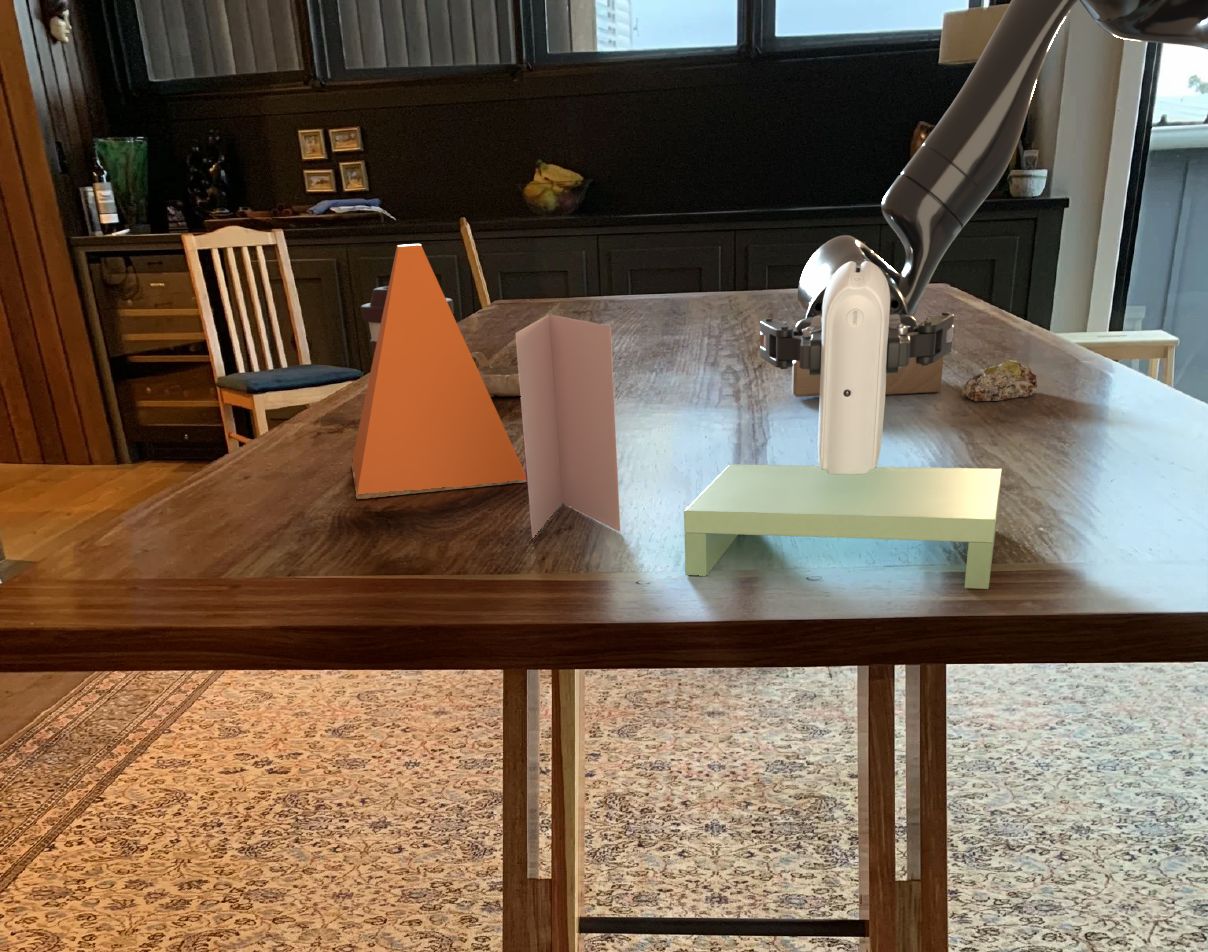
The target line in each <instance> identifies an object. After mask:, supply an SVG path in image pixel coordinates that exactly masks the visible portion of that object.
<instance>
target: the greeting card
mask: <svg viewBox="0 0 1208 952" xmlns="http://www.w3.org/2000/svg"><path fill="white" fill-rule="evenodd" d="M514 335H515V345H516V346H515V347H516V358H517V366H518V371H519V383H520V395H521V397H520V405H521V406H520V407H521V417H522V418H521V419H522V429H523V442H524V463H525V464H524V466H525V474H526V479H527V483H526V486H527V487H526V488H527V494H528V501H529V502H528V503H529V515H530V527H531V528H530V529H531V538H534V537H535V535H537V536H538V534H539V533H538V531H540V529H541V528H542V527H543V526H544V524H545V523H546V522H547V520H549V521H550V519H551V518H552V517H553V516H554V514H555V513H556V512H557V511H558V509H559V508H560V507H561V506H562V505H563V504H564V505H566V506H568V507H570V506H571V507H570V508H572V509H574V510H575V509H576V510H575V511H577V510H578V512H579V513H581V512H582V514H583V513H584V514H583V515H585V516H587V517H589V518H591V519H593V520H595V521H597V522H599V523H601V524H603V525H605V526H607V527H608V528H611V529H613V530H615V531H617V532H619V531H620V532H621V514H620V494H619V492H620V491H619V490H620V489H619V472H618V471H619V469H618V452H617V449H618V448H617V428H616V409H615V407H616V406H615V389H614V387H615V386H614V368H613V367H614V366H613V365H614V364H613V347H612V345H613V344H612V327H611V325H606V324H601V323H595V322H591V321H585V320H580V319H575V318H569V317H564V316H561V315H560V316H559V315H554V314H547V315H545V316H544V317H542V318H539V320H537V321H535V322H533V323H531V324H529V325H527V326H526V327H524V328H522V329H521V330H519V331H517V332H515V334H514ZM562 502H563V503H562ZM560 505H561V506H560ZM559 506H560V507H559ZM556 510H557V511H556ZM555 511H556V512H555ZM554 512H555V513H554ZM553 513H554V514H553ZM552 515H553V516H552ZM551 516H552V517H551ZM550 517H551V518H550ZM549 518H550V519H549ZM547 523H548V522H547ZM547 523H546V524H547ZM546 524H545V525H546ZM544 527H545V526H544ZM544 527H543V528H544ZM543 528H542V529H543ZM542 529H541V530H542ZM540 532H541V531H540ZM537 533H538V534H537ZM535 538H536V537H535ZM535 538H534V539H535Z"/></svg>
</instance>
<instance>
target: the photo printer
mask: <svg viewBox="0 0 1208 952" xmlns="http://www.w3.org/2000/svg"><path fill="white" fill-rule="evenodd" d="M889 312H890V290H889V285H888V282H887V279H886V277H885V275H884V274H883V272H882V271H881V270H880V269H879V268H878V267H877V266H876V265H874V264H873V263H871V262H868V261H865V262H863V263H862V264H861V266H860V267H857V265H856V263H855V262H853V261H850V262H848V263H846V264H844V265H842V266H841V267H840V268H839V269H838V270H837V271H836V272H835V273H834V274H833V275H832V277H831V278H830V280H829V283H828V285H827V287H826V290H825V294H824V298H823V306H822V318H821V321H822V340H821V373H820V396H819V401H818V402H819V403H818V404H819V405H818V427H817V428H818V429H817V430H818V431H817V439H816V444H817V462H818V466H820V469H822V470H826V471H827V473H829V474H836V475H859V474H866V473H868V471H869V470H874V469H875V468H876V467H878V463H879V460H880V456H881V449H882V439H883V431H884V418H885V417H884V416H885V404H886V395H885V391H886V371H887V350H888V330H889Z"/></svg>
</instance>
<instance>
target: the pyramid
mask: <svg viewBox="0 0 1208 952" xmlns="http://www.w3.org/2000/svg"><path fill="white" fill-rule="evenodd" d="M388 286H389V287H388V292H387V296H386V301H385V306H384V311H383V315H382V320H381V325H380V330H379V334H378V339H377V344H376V349H375V353H374V358H372V362H371V367H370V373H369V377H368V382H367V386H366V391H365V392H366V393H365V397H364V401H363V407H362V410H361V415H360V421H359V424H358V430H357V435H356V439H355V444H354V450H353V453H352V458H353V461H354V469H355V479H356V487H357V494H365V493H379V492H389V491H404V490H422V489H431V488H442V487H462V486H472V485H477V484H485V483H501V482H507V481H515V480H521V481H522V480H527V479H526V471H525V470H524V468H523V465H522V463H521V461H520V459H519V457H518V455H517V453H516V450H515V448H514V446H513V443H512V442H511V439H510V437H509V434H508V433H507V431H506V428H505V426H504V424H503V421H502V419H501V417H500V415H499V413H498V411H497V408H496V406H495V404H494V402H493V399H492V398H491V397H492V396H490V395H489V393H488V391H487V389H486V386H485V384H484V382H483V380H482V378H481V375H480V373H479V371H478V367H477V364H476V365H475V362H474V360H473V358H472V356H471V351H470V349H469V346H468V345H467V343H466V341H465V339H464V336H463V334H462V331H461V330H460V328H459V325H458V323H457V320H456V319H455V316H454V314H452V312H451V310H450V307H449V305H448V303H447V301H446V299H445V298H446V297H445V294H444V291H443V290H442V288H441V286H440V284H439V281H438V279H437V276H436V275H435V273H434V270H433V268H432V266H431V264H430V261H429V258H428V257H427V255H426V252H425V250H424V248H423V246H422V244H421V243H411V244H410V243H409V244H398V245H396V250H395V254H394V259H393V264H392V268H391V273H390V278H389V282H388Z"/></svg>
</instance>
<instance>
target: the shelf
mask: <svg viewBox="0 0 1208 952" xmlns="http://www.w3.org/2000/svg"><path fill="white" fill-rule="evenodd" d="M1002 473H1003V469H1002V468H983V467H982V468H981V467H980V468H977V467H975V468H974V467H919V466H918V467H917V466H916V467H915V466H914V467H911V466H910V467H909V466H876V468H875V469H874V470H869V471H868V473H866V474H859V475H836V474H829V473H827V471H826V470H822V469H820V466H819V465H797V464H796V465H792V464H791V465H790V464H789V465H786V464H784V465H783V464H780V465H779V464H728V465H727V467H725V469H723V471H722V472H721V473H720V474H719V475H717V477H716V478H715V479H714V480H713V481H712V482H711V483H710V484H709V485H707V487H706V488H705V489H704V490H703V491H702V492H701V493H700V494H699V495H698V496H697V497H696V498H695V499H694V500H693V501H692V502H691V504H690V505H689V506H687V507H686V508H685V510H684V511H683V519H684V520H683V522H684V523H683V525H684V527H683V528H684V530H683V531H684V567H685V568H684V570H685V571H684V573H685V576H686V575H699V576H698V577H707V576H708V575H709V574H710V572H711V571H712V569H713V568H714V567H715V566H716V565H717V563H718V562H719V561H720V560H721V558H722V557H723V555H724V554H725V553H726V552H727V551H728V549H729V548H730V546H731V545H732V544H733V543H734V542H735V540H736V539H737V538H738V536H740V535H748V536H749V535H750V536H775V537H803V538H804V537H807V538H831V539H832V538H836V539H861V540H863V539H865V540H866V539H867V540H893V541H894V540H895V541H896V540H897V541H923V542H924V541H926V542H951V543H952V542H955V543H956V542H957V543H967V553H966V554H967V555H966V564H965V575H964V587H963V588H964V589H974V590H975V589H976V590H977V589H978V590H989V587H990V581H991V571H992V564H993V558H994V557H993V556H994V547H995V539H996V533H997V532H996V531H997V523H998V512H999V502H1000V494H1001V483H1002ZM706 575H707V576H706Z"/></svg>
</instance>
